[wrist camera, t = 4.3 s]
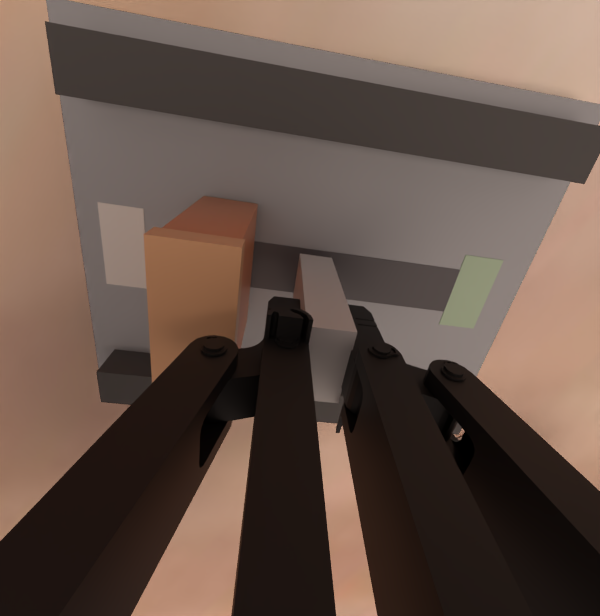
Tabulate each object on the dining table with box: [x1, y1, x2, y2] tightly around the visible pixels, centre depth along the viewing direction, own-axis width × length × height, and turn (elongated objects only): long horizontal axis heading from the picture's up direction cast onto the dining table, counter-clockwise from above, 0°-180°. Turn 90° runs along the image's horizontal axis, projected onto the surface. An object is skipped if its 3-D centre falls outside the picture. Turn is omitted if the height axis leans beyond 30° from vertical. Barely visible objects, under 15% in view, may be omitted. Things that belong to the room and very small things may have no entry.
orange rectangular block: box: [144, 196, 258, 383], centre depth 14 cm, size 3×6×7 cm, turn 171°
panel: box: [46, 0, 600, 376], centre depth 18 cm, size 22×18×2 cm
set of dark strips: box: [45, 21, 600, 434], centre depth 16 cm, size 20×16×2 cm
